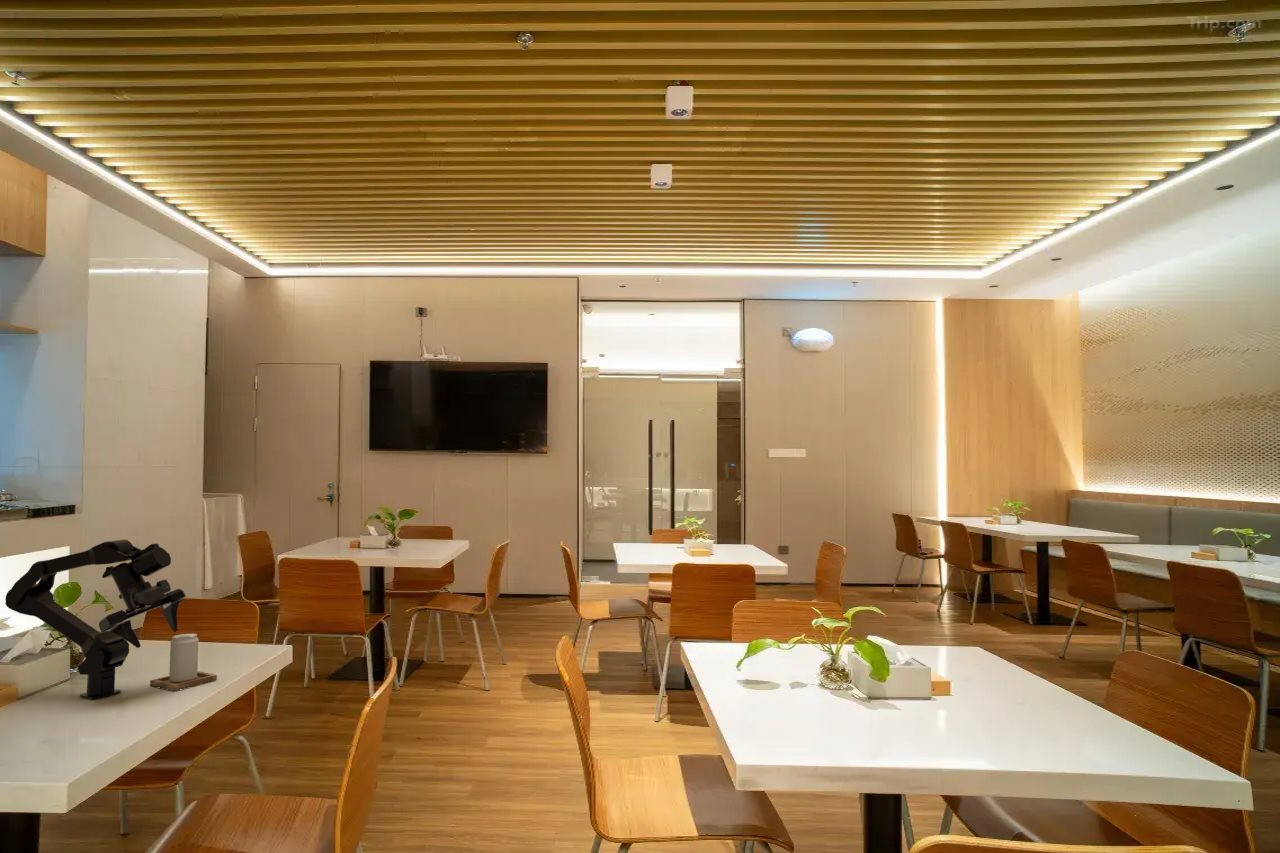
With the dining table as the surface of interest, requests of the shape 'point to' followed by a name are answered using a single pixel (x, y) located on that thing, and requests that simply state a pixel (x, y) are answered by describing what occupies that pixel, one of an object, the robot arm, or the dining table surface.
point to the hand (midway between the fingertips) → (158, 639)
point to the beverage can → (183, 658)
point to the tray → (199, 680)
